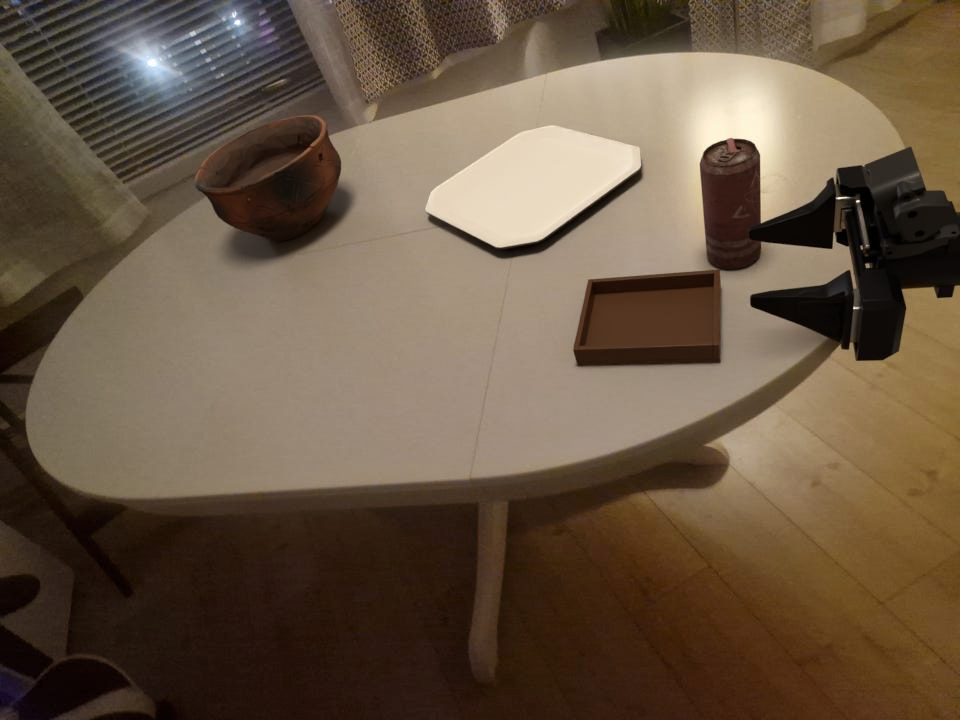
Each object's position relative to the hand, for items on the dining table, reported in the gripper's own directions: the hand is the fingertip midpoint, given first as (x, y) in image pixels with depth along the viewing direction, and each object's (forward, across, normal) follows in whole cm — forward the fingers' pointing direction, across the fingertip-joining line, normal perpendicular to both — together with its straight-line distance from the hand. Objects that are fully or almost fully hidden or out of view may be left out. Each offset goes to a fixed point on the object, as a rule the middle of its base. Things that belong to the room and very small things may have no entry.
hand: (749, 265), depth 56 cm
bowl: (+78, -40, +13) cm, 88 cm away
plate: (+32, -40, +14) cm, 53 cm away
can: (+2, -20, +14) cm, 24 cm away
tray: (+11, -8, +14) cm, 19 cm away
